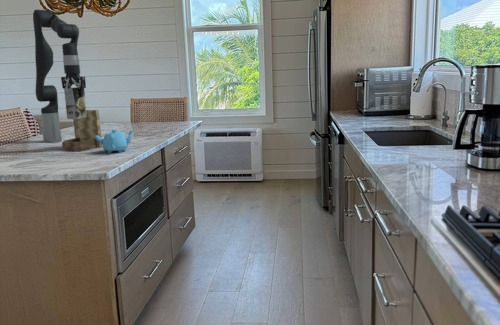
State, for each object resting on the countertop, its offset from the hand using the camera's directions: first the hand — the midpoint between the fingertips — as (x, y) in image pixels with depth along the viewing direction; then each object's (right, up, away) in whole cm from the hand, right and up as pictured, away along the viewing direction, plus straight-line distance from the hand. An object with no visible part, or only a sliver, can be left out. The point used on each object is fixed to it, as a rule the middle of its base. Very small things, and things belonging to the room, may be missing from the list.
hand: (75, 96), depth 228 cm
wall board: (+3, -26, +11) cm, 28 cm away
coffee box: (0, -11, +2) cm, 11 cm away
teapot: (+23, -29, -6) cm, 38 cm away
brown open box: (+1, -27, +5) cm, 28 cm away
